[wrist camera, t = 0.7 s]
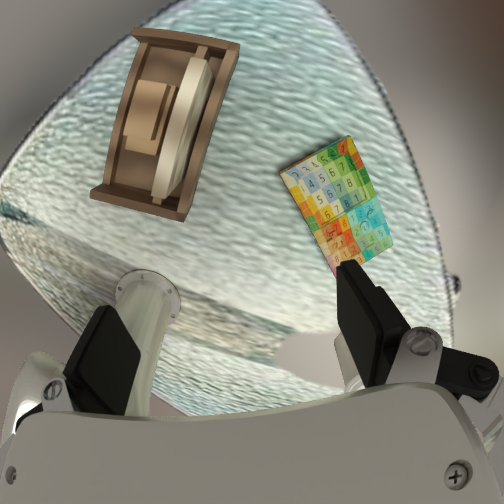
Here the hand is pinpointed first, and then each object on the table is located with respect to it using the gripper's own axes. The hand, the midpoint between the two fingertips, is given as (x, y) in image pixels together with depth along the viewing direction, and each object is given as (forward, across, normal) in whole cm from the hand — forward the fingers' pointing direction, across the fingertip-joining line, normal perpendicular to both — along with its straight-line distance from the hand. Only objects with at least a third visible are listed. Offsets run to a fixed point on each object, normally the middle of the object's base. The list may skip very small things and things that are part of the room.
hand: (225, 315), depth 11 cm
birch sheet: (+31, +4, -8) cm, 32 cm away
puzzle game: (+33, -15, +9) cm, 37 cm away
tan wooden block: (+31, +9, -11) cm, 34 cm away
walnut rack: (+32, +8, -10) cm, 35 cm away
